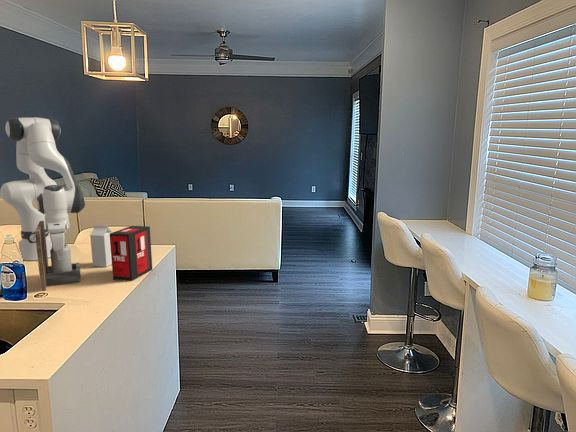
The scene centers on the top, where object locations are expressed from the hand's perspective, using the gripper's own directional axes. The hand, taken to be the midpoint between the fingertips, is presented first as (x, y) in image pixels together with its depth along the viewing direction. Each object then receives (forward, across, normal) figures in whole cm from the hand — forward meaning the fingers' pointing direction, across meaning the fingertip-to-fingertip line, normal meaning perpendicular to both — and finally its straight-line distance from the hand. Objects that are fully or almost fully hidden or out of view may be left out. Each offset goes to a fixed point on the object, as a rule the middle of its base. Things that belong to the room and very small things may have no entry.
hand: (60, 257), depth 192 cm
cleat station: (+10, 0, 0) cm, 10 cm away
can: (+7, 0, 0) cm, 7 cm away
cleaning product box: (+10, +5, +28) cm, 30 cm away
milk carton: (+10, -17, +17) cm, 26 cm away
